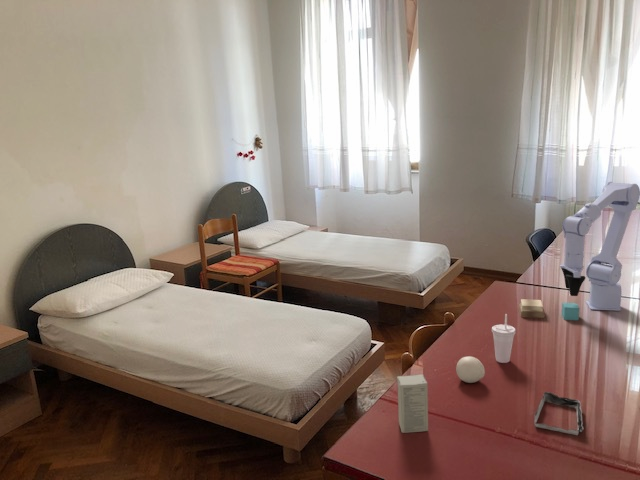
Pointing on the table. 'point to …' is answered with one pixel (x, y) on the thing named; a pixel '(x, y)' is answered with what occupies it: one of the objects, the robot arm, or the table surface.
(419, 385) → the skincare box
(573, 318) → the teal block
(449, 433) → the table surface
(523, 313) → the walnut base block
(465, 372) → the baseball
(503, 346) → the smoothie
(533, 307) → the maple top block
